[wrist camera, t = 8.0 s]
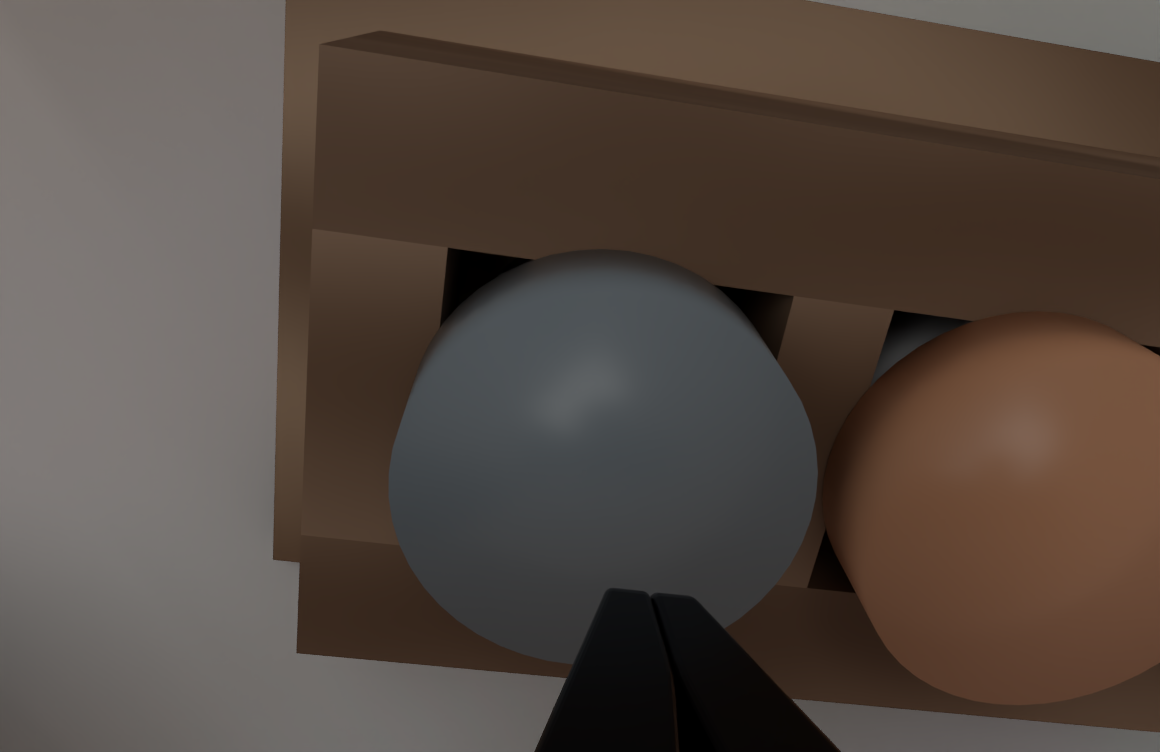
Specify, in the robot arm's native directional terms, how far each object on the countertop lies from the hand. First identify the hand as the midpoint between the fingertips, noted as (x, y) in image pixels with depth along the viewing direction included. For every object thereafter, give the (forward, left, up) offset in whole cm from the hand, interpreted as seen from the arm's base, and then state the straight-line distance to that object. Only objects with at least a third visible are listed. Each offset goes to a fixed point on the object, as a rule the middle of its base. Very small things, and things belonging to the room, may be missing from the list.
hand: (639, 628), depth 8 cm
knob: (0, 0, -8) cm, 8 cm away
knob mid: (0, -6, -8) cm, 10 cm away
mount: (0, -6, -9) cm, 11 cm away
